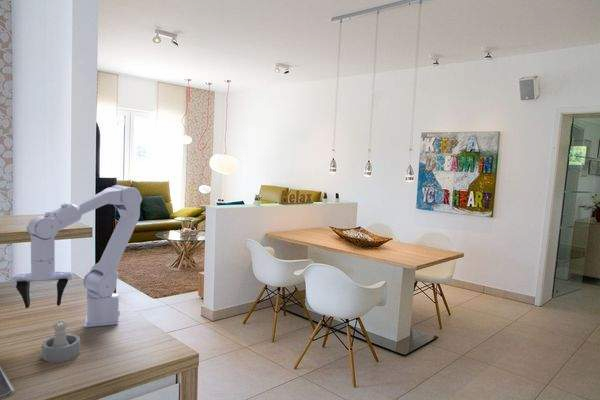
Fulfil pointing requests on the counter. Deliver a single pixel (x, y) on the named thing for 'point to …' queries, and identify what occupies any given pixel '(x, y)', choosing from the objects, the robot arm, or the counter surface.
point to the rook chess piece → (60, 334)
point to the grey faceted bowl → (61, 349)
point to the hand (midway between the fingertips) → (43, 305)
